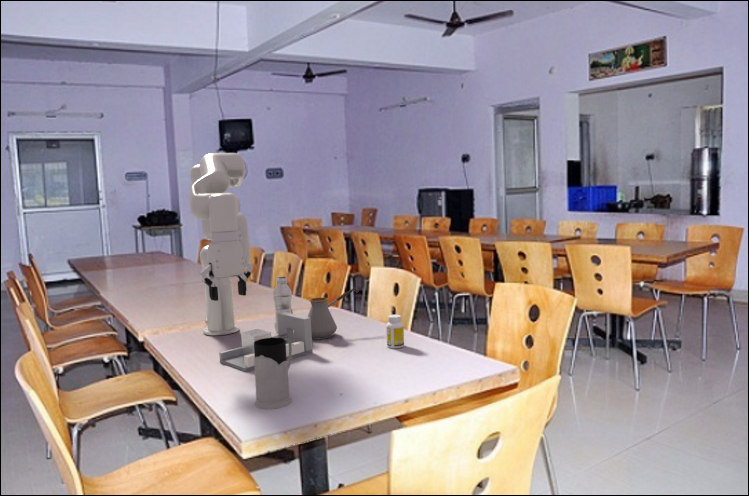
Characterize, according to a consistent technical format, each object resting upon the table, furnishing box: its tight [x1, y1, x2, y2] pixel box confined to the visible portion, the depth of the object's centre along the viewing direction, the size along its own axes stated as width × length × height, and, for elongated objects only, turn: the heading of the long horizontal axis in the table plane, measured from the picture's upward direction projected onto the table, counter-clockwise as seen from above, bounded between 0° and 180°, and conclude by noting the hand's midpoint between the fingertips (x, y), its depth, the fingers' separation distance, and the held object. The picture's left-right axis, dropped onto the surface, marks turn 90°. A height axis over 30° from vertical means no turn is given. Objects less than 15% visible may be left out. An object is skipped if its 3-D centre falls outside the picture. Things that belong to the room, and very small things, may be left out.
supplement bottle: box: [385, 314, 405, 349], centre depth 189 cm, size 5×5×10 cm
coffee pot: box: [307, 287, 359, 340], centre depth 207 cm, size 21×12×15 cm, turn 124°
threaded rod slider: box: [240, 328, 288, 356], centre depth 182 cm, size 11×14×7 cm
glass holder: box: [254, 338, 293, 410], centre depth 147 cm, size 9×14×15 cm, turn 159°
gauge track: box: [218, 312, 313, 373], centre depth 182 cm, size 14×24×11 cm, turn 134°
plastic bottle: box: [272, 276, 294, 335], centre depth 208 cm, size 6×7×20 cm
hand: (228, 297), depth 173 cm, fingers open, 8 cm apart
